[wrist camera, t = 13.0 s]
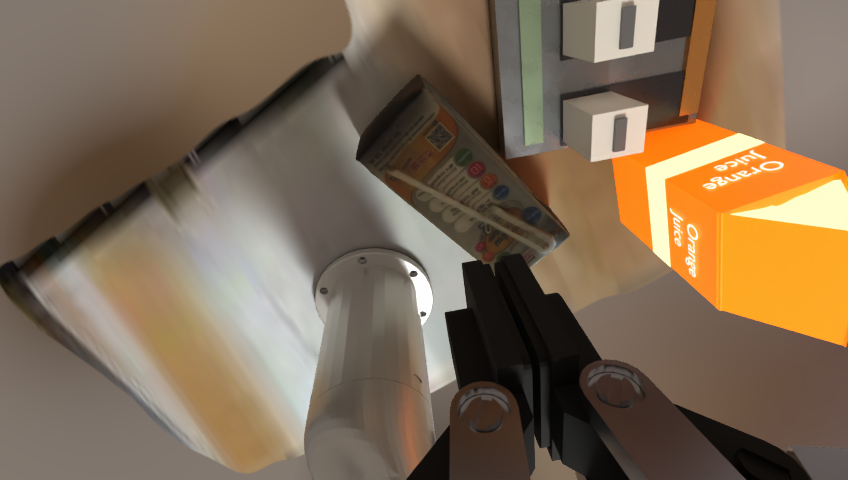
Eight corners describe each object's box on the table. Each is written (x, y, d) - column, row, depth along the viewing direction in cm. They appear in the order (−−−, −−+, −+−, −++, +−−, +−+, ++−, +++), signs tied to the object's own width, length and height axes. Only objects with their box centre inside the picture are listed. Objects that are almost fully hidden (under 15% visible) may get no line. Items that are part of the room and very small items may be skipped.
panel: (681, 117, 37) (698, 123, 35) (500, 152, 38) (506, 160, 36) (722, -158, 28) (748, -171, 26) (480, -110, 28) (487, -119, 26)
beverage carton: (493, 257, 44) (509, 294, 38) (354, 137, 36) (347, 161, 30) (551, 207, 41) (578, 239, 36) (415, 67, 34) (421, 79, 28)
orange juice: (619, 222, 43) (780, 369, 25) (608, 146, 38) (794, 259, 21) (694, 196, 42) (914, 328, 24) (691, 114, 37) (957, 205, 20)
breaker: (608, 132, 35) (645, 153, 30) (562, 141, 35) (592, 163, 30) (610, 91, 33) (650, 105, 28) (563, 100, 33) (594, 116, 28)
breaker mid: (613, 45, 32) (656, 51, 27) (562, 54, 32) (596, 63, 27) (616, -7, 30) (663, -10, 25) (562, 3, 30) (599, 2, 25)
